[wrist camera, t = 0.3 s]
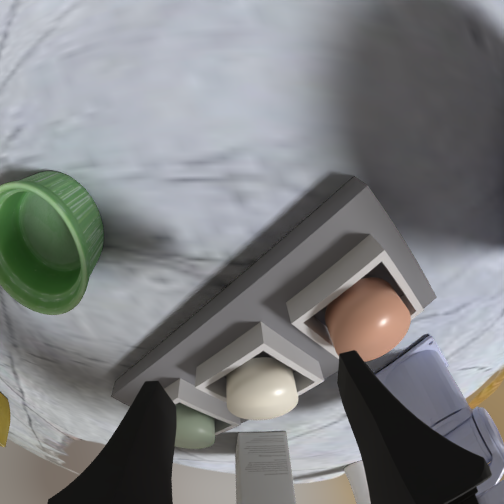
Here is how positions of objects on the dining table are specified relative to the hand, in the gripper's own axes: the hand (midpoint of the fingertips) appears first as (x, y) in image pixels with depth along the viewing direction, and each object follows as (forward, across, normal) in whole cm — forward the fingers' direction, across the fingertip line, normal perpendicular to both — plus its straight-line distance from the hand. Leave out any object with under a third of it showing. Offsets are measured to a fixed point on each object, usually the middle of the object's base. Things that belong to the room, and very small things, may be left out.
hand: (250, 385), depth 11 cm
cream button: (+7, 0, +8) cm, 11 cm away
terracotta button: (+6, -7, +3) cm, 10 cm away
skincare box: (+10, +4, +29) cm, 31 cm away
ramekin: (+10, +12, -6) cm, 17 cm away
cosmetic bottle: (+10, -13, +54) cm, 56 cm away
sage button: (+7, +8, +13) cm, 17 cm away
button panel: (+10, 0, +8) cm, 13 cm away
